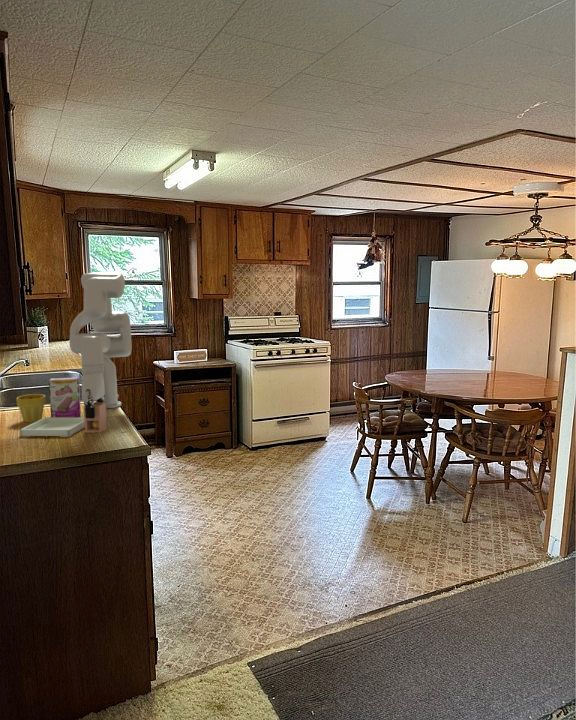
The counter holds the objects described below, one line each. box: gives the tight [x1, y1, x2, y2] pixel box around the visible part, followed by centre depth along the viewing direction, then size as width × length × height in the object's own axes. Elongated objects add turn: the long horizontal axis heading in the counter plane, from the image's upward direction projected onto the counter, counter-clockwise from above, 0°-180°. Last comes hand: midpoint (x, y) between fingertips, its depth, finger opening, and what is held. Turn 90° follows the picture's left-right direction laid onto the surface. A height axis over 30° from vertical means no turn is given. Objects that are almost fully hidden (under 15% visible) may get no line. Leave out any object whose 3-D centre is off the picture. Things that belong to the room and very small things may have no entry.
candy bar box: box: [48, 377, 82, 418], centre depth 211 cm, size 11×5×16 cm, turn 108°
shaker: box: [83, 401, 108, 433], centre depth 193 cm, size 6×6×10 cm
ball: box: [92, 421, 99, 428], centre depth 193 cm, size 3×3×3 cm
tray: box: [19, 416, 85, 438], centre depth 194 cm, size 18×18×2 cm
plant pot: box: [16, 393, 47, 423], centre depth 208 cm, size 10×10×10 cm
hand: (95, 415), depth 192 cm, fingers open, 8 cm apart
